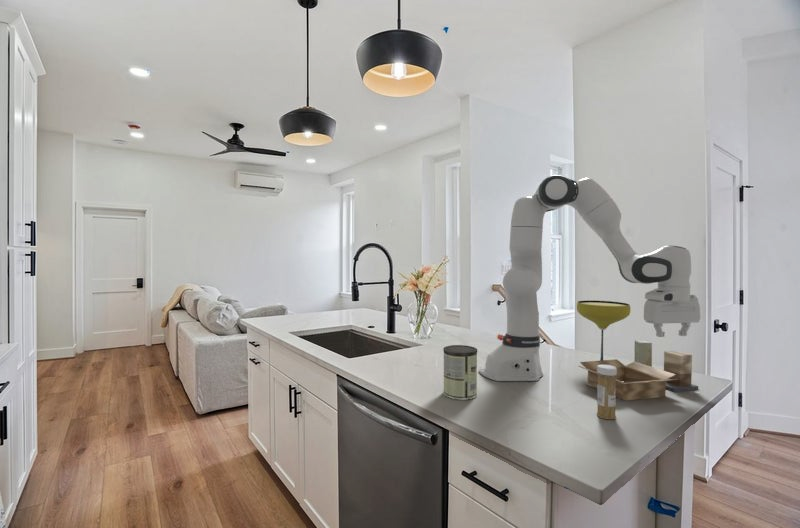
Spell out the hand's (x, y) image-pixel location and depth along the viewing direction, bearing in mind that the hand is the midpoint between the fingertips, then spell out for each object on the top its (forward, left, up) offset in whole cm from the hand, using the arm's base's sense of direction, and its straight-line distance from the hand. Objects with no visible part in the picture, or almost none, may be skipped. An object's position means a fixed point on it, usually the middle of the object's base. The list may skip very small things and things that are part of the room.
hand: (671, 336), depth 131 cm
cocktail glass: (-8, +22, -17) cm, 28 cm away
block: (+1, -1, -15) cm, 15 cm away
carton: (-19, 0, -16) cm, 25 cm away
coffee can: (-72, +9, -17) cm, 74 cm away
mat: (0, 0, -16) cm, 16 cm away
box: (+5, +16, -17) cm, 23 cm away
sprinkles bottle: (-41, -16, -17) cm, 47 cm away
